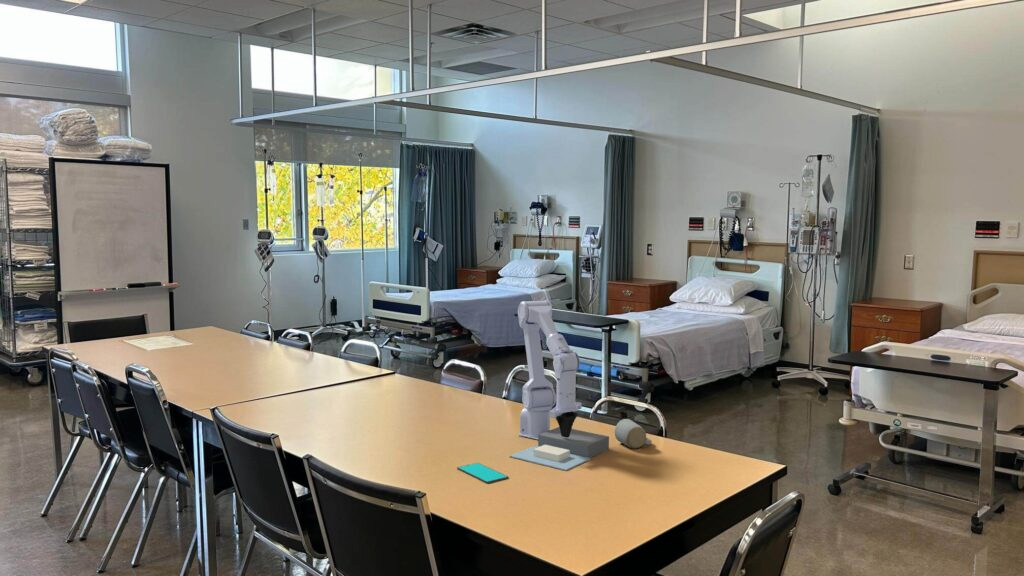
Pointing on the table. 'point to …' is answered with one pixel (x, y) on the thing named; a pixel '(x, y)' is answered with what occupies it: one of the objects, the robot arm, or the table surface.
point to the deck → (576, 442)
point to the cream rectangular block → (551, 453)
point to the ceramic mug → (631, 434)
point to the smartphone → (482, 473)
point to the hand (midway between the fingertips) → (565, 436)
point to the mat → (562, 465)
